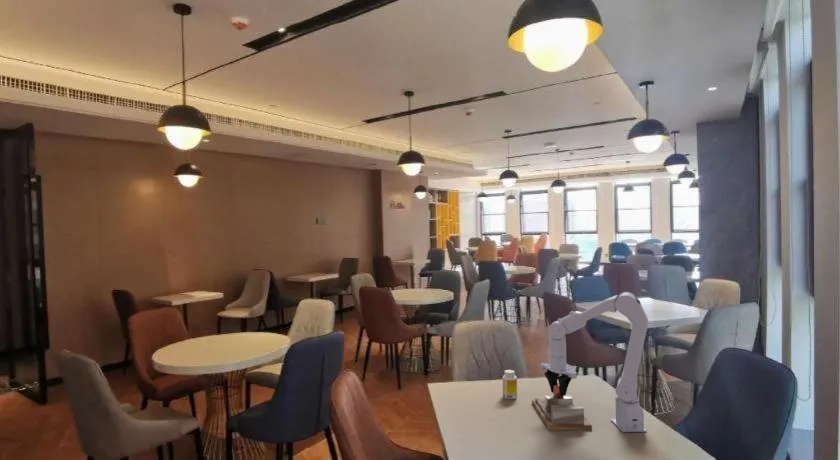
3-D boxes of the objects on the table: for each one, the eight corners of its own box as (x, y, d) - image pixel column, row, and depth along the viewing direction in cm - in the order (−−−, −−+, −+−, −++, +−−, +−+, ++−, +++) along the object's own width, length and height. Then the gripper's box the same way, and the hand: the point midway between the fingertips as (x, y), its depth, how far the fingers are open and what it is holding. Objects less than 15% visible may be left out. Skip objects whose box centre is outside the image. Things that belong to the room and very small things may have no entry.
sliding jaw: (573, 411, 165) (572, 386, 165) (547, 411, 165) (547, 386, 165) (569, 407, 169) (569, 382, 169) (544, 407, 169) (544, 383, 169)
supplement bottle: (520, 397, 185) (519, 371, 185) (510, 400, 181) (510, 374, 181) (509, 393, 189) (508, 368, 189) (499, 396, 185) (499, 371, 185)
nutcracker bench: (591, 429, 154) (591, 410, 154) (549, 430, 154) (548, 410, 154) (568, 402, 178) (568, 385, 178) (531, 403, 178) (531, 386, 178)
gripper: (582, 358, 163) (582, 397, 163) (549, 349, 175) (550, 385, 175) (568, 361, 159) (569, 401, 159) (536, 352, 171) (537, 389, 171)
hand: (558, 393), depth 167 cm, fingers closed on sliding jaw, 3 cm apart
